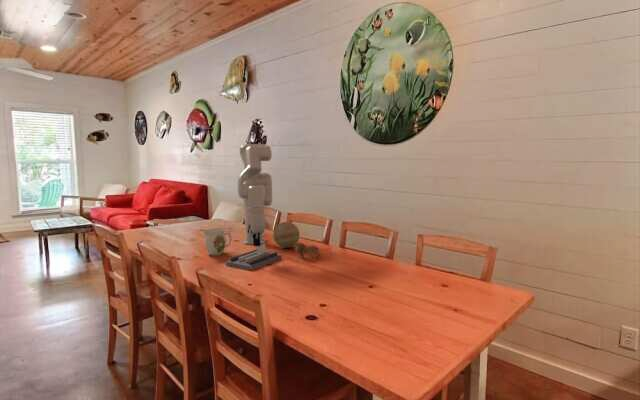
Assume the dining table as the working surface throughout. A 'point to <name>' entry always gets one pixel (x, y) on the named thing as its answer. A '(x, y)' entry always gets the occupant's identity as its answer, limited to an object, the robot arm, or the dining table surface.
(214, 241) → the pitcher
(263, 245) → the knob
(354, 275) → the dining table surface
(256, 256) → the breaker panel
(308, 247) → the lion figurine
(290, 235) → the decorative ball
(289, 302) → the dining table surface
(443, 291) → the dining table surface
